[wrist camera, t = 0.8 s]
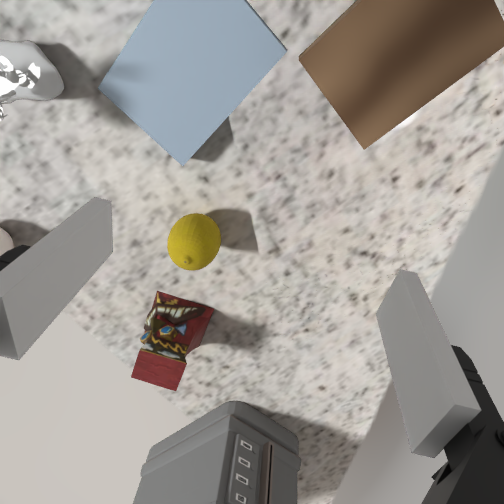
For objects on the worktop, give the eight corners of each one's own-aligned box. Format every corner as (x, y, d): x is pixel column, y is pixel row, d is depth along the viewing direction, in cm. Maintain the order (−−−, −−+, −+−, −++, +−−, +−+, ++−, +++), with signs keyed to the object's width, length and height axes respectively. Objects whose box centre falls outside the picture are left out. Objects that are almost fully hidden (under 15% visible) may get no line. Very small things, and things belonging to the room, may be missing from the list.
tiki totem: (215, 307, 48) (199, 360, 41) (199, 345, 53) (182, 399, 45) (155, 287, 47) (127, 337, 40) (145, 327, 52) (118, 379, 44)
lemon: (178, 238, 42) (156, 278, 36) (181, 197, 39) (158, 232, 33) (223, 247, 42) (209, 288, 36) (229, 207, 39) (215, 244, 33)
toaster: (312, 436, 63) (317, 571, 47) (208, 483, 77) (186, 597, 62) (242, 391, 58) (222, 524, 42) (145, 449, 72) (103, 565, 57)
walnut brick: (298, 56, 31) (298, 60, 27) (427, -68, 26) (453, -87, 21) (355, 134, 34) (364, 149, 30) (481, 38, 29) (512, 40, 25)
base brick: (112, 83, 34) (97, 88, 31) (202, -53, 28) (193, -61, 25) (190, 156, 37) (182, 166, 35) (287, 49, 31) (286, 51, 28)
